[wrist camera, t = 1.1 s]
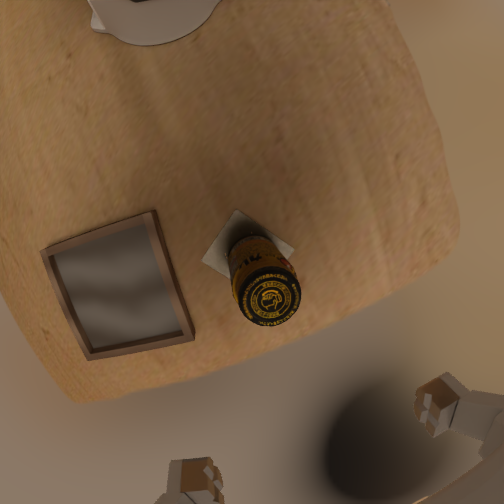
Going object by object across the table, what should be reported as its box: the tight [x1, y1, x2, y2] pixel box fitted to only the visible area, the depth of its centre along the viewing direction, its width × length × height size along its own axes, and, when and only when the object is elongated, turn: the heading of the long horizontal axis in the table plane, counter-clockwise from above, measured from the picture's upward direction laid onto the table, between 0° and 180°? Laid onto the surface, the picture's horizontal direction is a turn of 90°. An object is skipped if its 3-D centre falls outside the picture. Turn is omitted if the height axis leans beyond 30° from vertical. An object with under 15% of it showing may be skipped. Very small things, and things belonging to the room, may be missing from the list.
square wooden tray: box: [40, 210, 195, 361], centre depth 32 cm, size 16×16×2 cm
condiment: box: [201, 209, 301, 326], centre depth 29 cm, size 7×8×12 cm
